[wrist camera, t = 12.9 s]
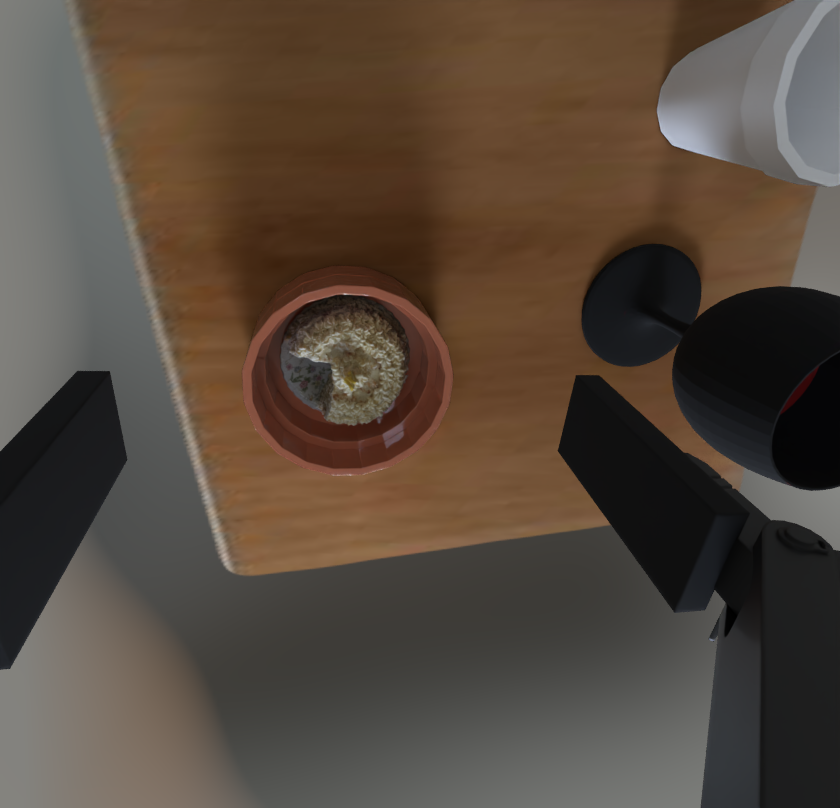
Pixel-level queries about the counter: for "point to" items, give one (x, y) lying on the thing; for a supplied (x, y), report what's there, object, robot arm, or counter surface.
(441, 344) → the bowl
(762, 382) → the wine glass
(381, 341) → the cake
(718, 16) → the counter surface
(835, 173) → the foam cup
